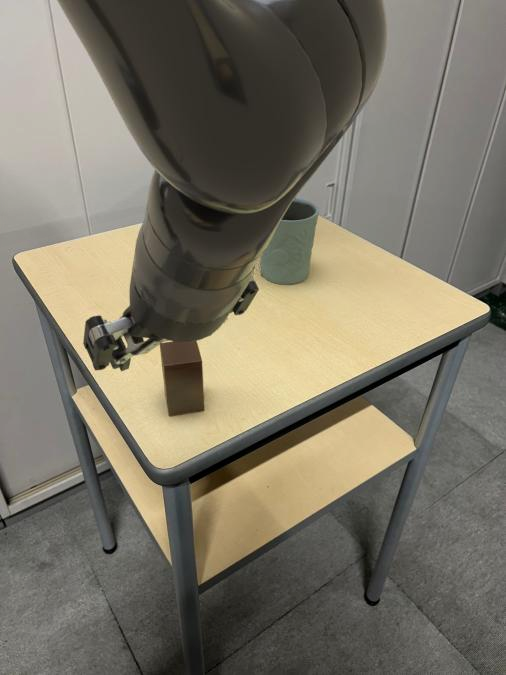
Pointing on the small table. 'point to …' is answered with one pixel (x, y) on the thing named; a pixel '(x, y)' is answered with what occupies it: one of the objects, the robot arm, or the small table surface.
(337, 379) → the small table surface
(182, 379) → the walnut block
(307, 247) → the green cup
